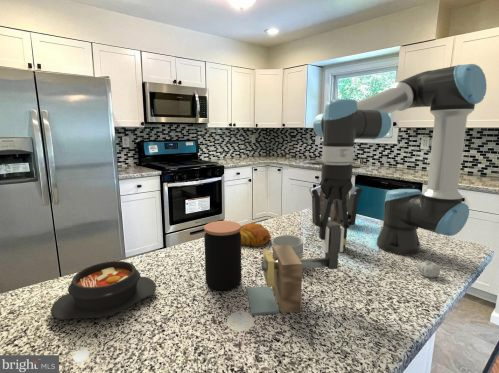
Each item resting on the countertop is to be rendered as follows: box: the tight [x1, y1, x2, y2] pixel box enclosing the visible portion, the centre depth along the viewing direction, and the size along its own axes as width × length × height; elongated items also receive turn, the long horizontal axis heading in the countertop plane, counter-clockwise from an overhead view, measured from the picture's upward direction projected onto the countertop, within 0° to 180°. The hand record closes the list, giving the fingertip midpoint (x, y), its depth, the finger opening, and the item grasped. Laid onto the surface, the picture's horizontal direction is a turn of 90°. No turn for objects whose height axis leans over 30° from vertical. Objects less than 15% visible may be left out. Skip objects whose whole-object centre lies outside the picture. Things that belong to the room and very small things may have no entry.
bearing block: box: [271, 245, 303, 314], centre depth 78 cm, size 5×12×13 cm, turn 7°
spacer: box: [262, 249, 274, 288], centre depth 76 cm, size 2×7×7 cm, turn 7°
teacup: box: [271, 233, 304, 259], centre depth 102 cm, size 14×11×8 cm
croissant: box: [240, 222, 272, 247], centre depth 120 cm, size 14×16×8 cm
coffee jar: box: [203, 220, 242, 293], centre depth 85 cm, size 11×11×18 cm
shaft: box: [260, 221, 340, 272], centre depth 76 cm, size 20×3×12 cm, turn 97°
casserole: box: [50, 260, 157, 321], centre depth 77 cm, size 25×19×8 cm
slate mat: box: [246, 285, 280, 316], centre depth 78 cm, size 7×12×1 cm, turn 7°
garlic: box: [417, 260, 441, 278], centre depth 91 cm, size 6×5×5 cm
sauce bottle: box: [329, 199, 347, 250], centre depth 111 cm, size 6×6×20 cm
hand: (332, 249), depth 78 cm, fingers open, 3 cm apart
